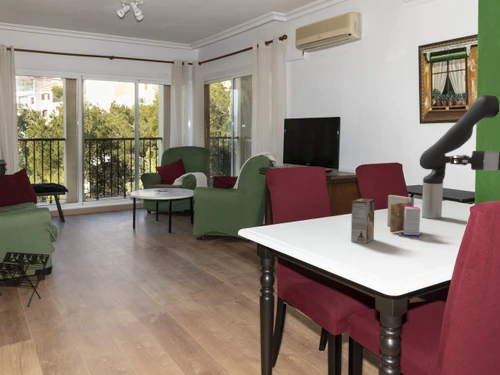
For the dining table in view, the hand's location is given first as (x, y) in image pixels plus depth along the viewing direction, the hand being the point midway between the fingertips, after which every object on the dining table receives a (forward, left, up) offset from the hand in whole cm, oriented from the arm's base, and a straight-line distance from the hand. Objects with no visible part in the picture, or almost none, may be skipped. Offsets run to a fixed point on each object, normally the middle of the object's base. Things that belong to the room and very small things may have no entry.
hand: (440, 159), depth 184 cm
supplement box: (+6, -9, -31) cm, 33 cm away
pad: (+6, -10, -31) cm, 33 cm away
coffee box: (+24, -25, -31) cm, 47 cm away
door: (+1, -14, -31) cm, 34 cm away
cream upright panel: (-8, -16, -31) cm, 36 cm away
